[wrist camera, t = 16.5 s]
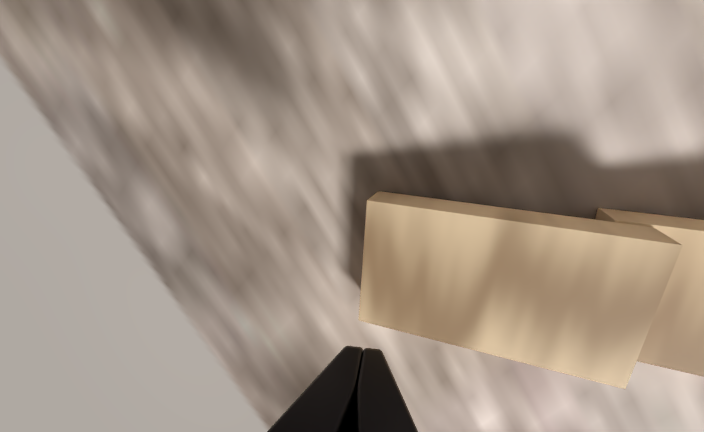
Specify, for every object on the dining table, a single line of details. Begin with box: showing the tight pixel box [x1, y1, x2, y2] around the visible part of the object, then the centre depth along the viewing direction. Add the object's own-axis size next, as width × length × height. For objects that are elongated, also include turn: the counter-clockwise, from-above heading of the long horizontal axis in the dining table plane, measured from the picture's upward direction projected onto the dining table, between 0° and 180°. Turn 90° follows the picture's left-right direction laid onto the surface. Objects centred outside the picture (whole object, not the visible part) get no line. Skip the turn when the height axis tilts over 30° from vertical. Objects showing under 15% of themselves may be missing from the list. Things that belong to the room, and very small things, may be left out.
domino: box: [359, 191, 683, 389], centre depth 12 cm, size 5×2×9 cm
